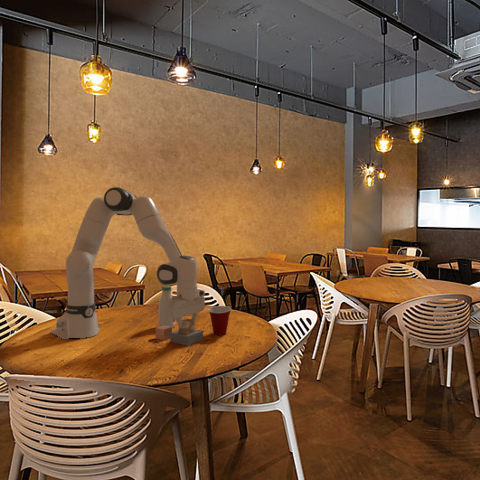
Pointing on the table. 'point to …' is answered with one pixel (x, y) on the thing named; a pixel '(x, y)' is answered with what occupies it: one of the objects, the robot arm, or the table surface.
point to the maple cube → (187, 326)
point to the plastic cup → (219, 319)
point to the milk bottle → (165, 307)
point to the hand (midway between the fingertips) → (186, 324)
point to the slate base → (186, 337)
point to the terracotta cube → (163, 332)
